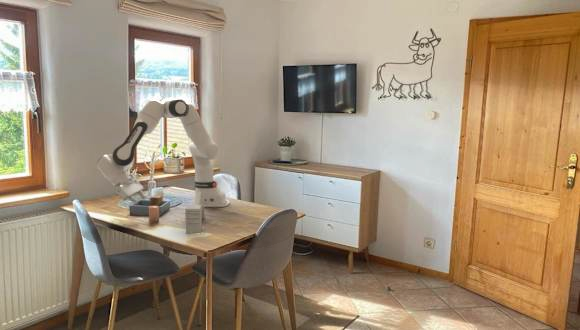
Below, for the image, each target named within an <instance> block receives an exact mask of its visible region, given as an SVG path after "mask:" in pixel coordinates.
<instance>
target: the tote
mask: <svg viewBox="0 0 580 330" xmlns="http://www.w3.org/2000/svg"><path fill="white" fill-rule="evenodd" d="M137 200H138V201H139V202H138V203H137V204H135V203H134V202H132V204H130V205H129V215H134V216H135V215H136V216H149V206H150V199H143V200H142V199H137ZM170 209H171V201H170V200H162V206H160V207H159V217H162V216H163V215H165V214H166V213H167V212H168V211H170Z"/></svg>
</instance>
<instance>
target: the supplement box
mask: <svg viewBox="0 0 580 330" xmlns="http://www.w3.org/2000/svg"><path fill="white" fill-rule="evenodd" d="M184 209H185V210H184V211H185V213H184V214H185V215H184V217H185V219H184V220H185V221H184V222H185V223H184V224H185V225H184V227H185V234H186V233H200V234H201V232H202V229H203V227H202V226H203V224H202V223H203V221H202V220H203V219H202V205H194V204H187V205H186V207H185V208H184Z"/></svg>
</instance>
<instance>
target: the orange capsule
mask: <svg viewBox="0 0 580 330" xmlns="http://www.w3.org/2000/svg"><path fill="white" fill-rule="evenodd" d="M159 222H160V216H159V206H149V215H148V223H150V224H157V223H159Z"/></svg>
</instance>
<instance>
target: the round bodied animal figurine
mask: <svg viewBox="0 0 580 330" xmlns="http://www.w3.org/2000/svg"><path fill="white" fill-rule="evenodd" d="M195 205H201V204H195ZM205 208H206V207H204V206H203V205H202V220H205V219H206V214H205V212H206V209H205Z"/></svg>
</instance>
